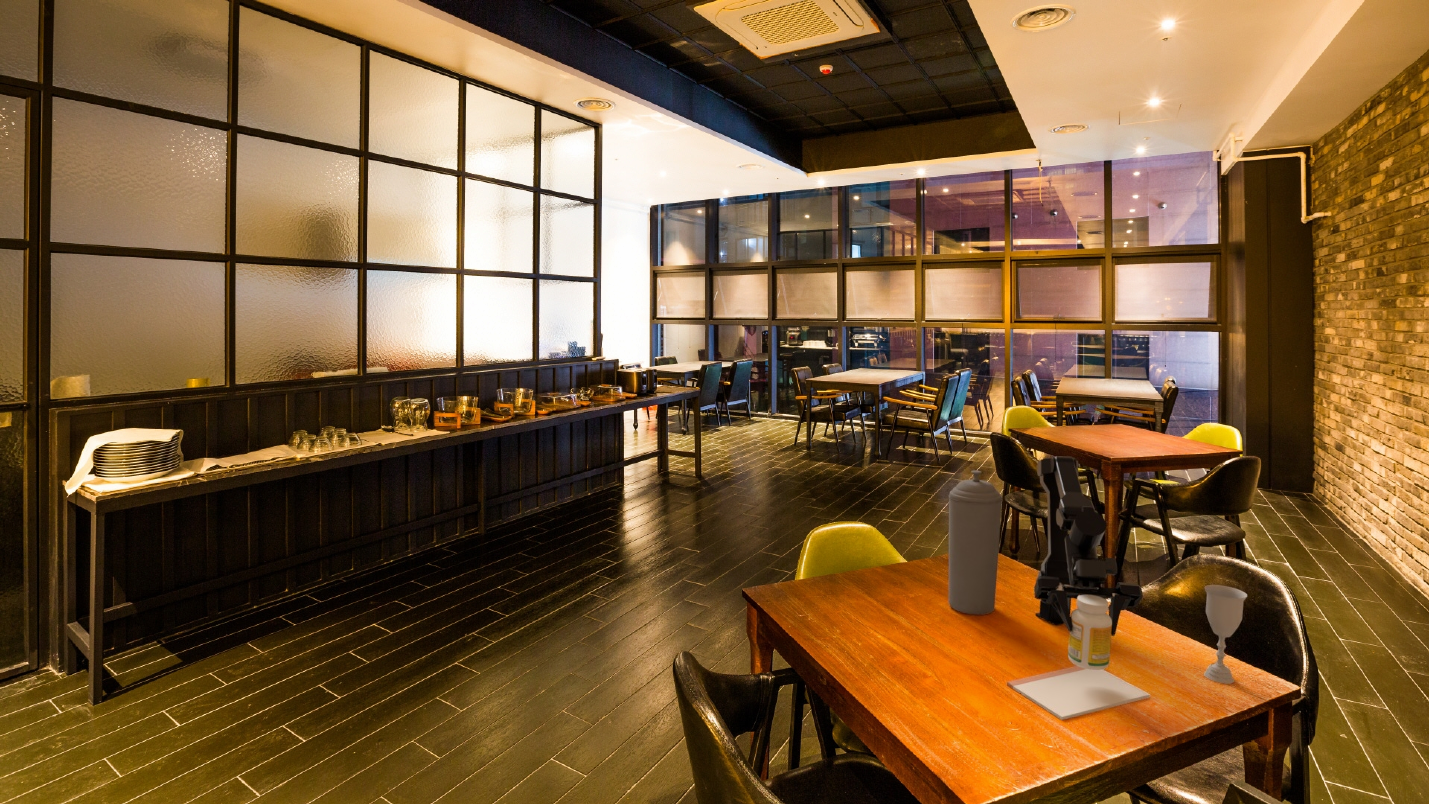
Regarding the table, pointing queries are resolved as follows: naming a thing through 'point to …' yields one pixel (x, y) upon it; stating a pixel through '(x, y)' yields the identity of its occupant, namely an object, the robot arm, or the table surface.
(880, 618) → the table surface
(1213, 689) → the table surface
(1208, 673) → the chalice
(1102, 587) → the robot arm
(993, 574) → the canister
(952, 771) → the table surface
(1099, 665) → the supplement bottle
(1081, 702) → the notepad
